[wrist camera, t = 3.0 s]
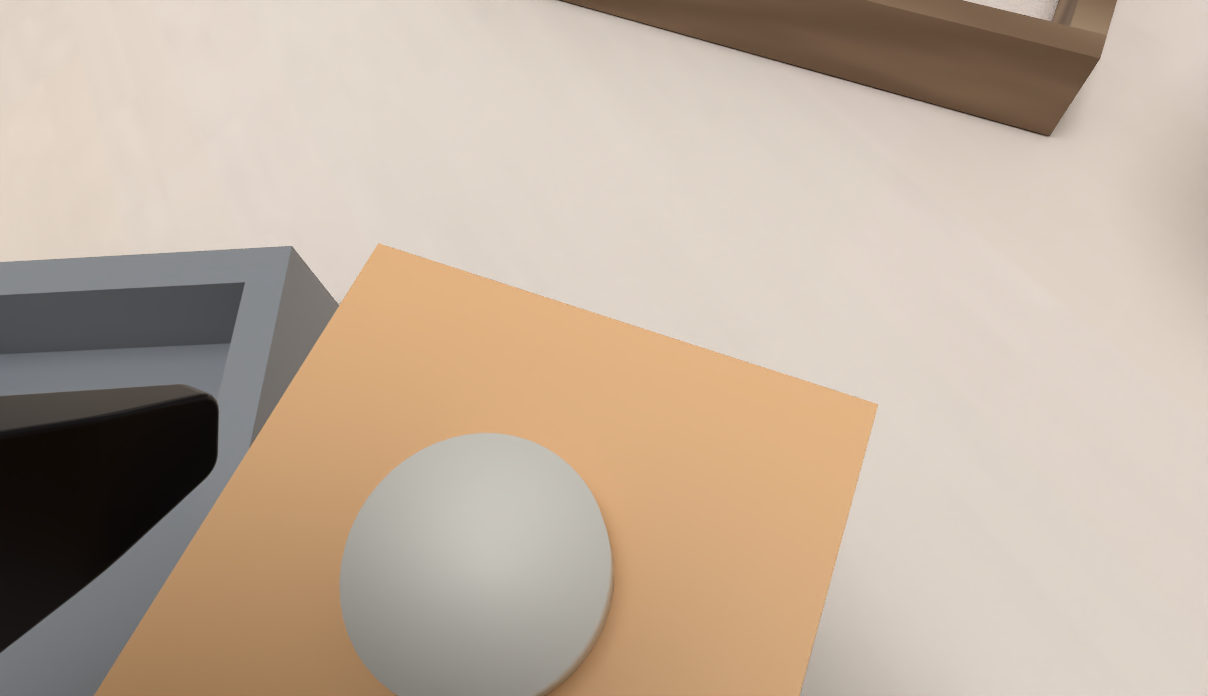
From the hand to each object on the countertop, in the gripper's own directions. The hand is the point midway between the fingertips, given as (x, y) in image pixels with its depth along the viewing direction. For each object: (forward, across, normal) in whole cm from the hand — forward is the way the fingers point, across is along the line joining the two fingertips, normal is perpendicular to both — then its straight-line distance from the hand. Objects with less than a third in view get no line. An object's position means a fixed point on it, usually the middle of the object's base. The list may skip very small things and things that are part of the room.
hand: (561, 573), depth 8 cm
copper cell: (+5, 0, +6) cm, 8 cm away
